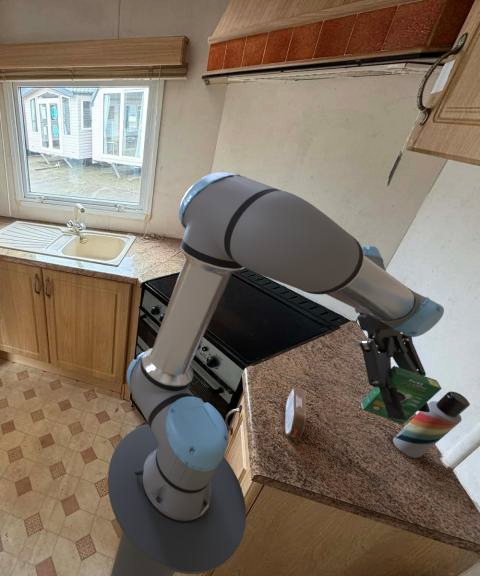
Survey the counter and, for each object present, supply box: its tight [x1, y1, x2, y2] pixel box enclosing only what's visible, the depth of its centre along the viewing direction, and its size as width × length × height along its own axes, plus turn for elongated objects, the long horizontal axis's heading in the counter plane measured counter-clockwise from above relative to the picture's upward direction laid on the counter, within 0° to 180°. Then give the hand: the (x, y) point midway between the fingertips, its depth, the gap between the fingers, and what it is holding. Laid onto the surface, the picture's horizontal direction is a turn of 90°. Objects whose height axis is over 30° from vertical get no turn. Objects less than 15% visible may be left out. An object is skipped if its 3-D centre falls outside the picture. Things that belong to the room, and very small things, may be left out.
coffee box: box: [360, 365, 442, 426], centre depth 69 cm, size 8×3×13 cm, turn 63°
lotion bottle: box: [392, 391, 471, 459], centre depth 74 cm, size 6×6×20 cm
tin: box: [284, 387, 307, 442], centre depth 81 cm, size 15×3×8 cm, turn 151°
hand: (409, 414), depth 68 cm, fingers closed on coffee box, 7 cm apart
